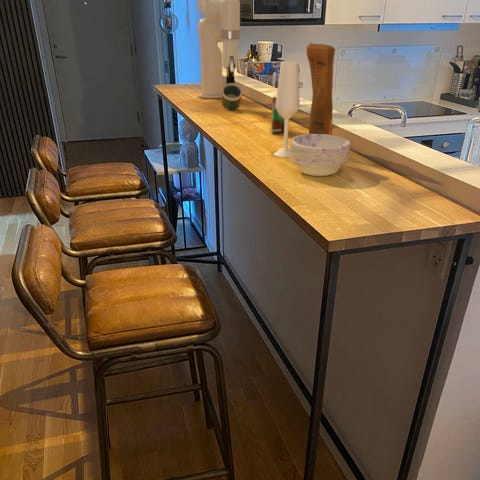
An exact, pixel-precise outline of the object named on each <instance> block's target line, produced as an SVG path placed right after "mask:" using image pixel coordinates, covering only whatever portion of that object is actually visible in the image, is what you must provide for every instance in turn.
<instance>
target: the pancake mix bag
mask: <svg viewBox="0 0 480 480" xmlns="http://www.w3.org/2000/svg"><path fill="white" fill-rule="evenodd" d="M335 54H336V48H335V47H334V46H333V45H329V44H324V43H312V42H310V43H308V45H307V46H306V57H307V60H308V65H309V70H310V77H311V78H310V79H311V88H312V98H311V105H310V113H309V125H308V134H327V135H333V110H334V109H333V108H334V107H333V106H334V105H333V89H334V67H335V66H334V64H335Z"/></svg>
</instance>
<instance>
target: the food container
mask: <svg viewBox="0 0 480 480" xmlns="http://www.w3.org/2000/svg"><path fill="white" fill-rule="evenodd" d="M276 97H277V96H272V102H271V103H272V105H271V107H272V108H271V132H272V133H271V134H272V135H281V134H284V124H285V119H284V118H283V117H282V116H281V115H280V114H279V113H278V111H277V110H276V107H275V105H276Z"/></svg>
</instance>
